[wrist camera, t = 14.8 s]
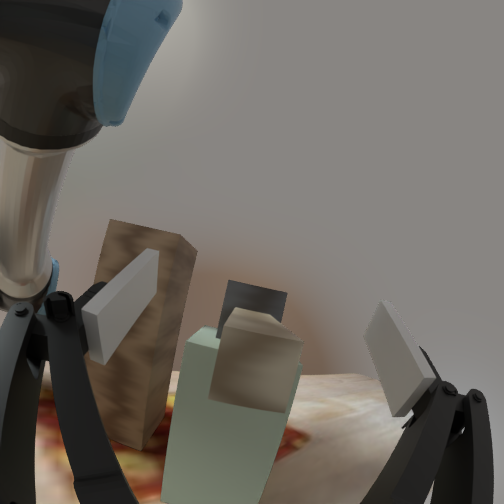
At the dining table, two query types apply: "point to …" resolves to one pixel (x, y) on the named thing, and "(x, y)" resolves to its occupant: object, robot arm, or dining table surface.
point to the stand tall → (141, 334)
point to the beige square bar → (254, 350)
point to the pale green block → (217, 436)
